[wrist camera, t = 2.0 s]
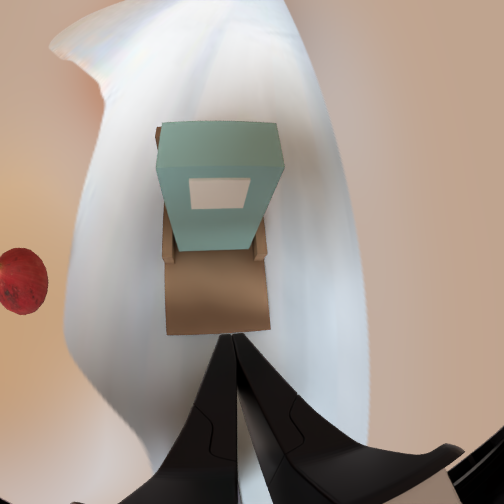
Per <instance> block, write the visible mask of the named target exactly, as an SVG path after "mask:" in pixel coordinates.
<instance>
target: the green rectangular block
mask: <svg viewBox="0 0 504 504" xmlns="http://www.w3.org/2000/svg"><path fill="white" fill-rule="evenodd" d="M284 168H285V166H284V160H283V155H282V150H281V145H280V140H279V135H278V130H277V125H276V123H264V122H244V121H187V122H166V123H162V127H161V133H160V140H159V147H158V154H157V162H156V171H157V175H158V179H159V183H160V187H161V191H162V194H163V198H164V202H165V205H166V209H167V213H168V216H169V220H170V223H171V226H172V230H173V233H174V236H175V240H176V243H177V246H178V249H179V251H206V250H235V249H249V247H250V245H251V243H252V240H253V238H254V236H255V234H256V231H257V229H258V227H259V224H260V222H261V220H262V218H263V215H264V213H265V211H266V209H267V206H268V204H269V202H270V199H271V197H272V195H273V193H274V190H275V188H276V186H277V184H278V181H279V179H280V177H281V175H282V172H283V170H284Z"/></svg>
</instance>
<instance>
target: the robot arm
mask: <svg viewBox="0 0 504 504" xmlns="http://www.w3.org/2000/svg"><path fill="white" fill-rule="evenodd" d="M237 392H238V396H239V400H240V403H241V407H242V410H243V413H244V417H245V420H246V423H247V427H248V430H249V433H250V436H251V440H252V443H253V446H254V449H255V452H256V455H257V458H258V461H259V464H260V467H261V470H262V473H263V476H264V479H265V482H266V485H267V487H268V491H269V493H270V496H271V499H272V502H273V504H504V426H503V427H502V428H501V429H499V430H498V431H497V432H496V433H495V434H494V435H493V436H492V437H490V438H489V439H488V440H487V441H486V442H485V443H483V444H482V445H481V446H480V447H478V448H477V449H476V450H475V451H474V452H472V453H471V454H470V455H468V456H467V457H466V458H464V459H463V460H462V461H461V462H459V463H458V464H457V465H455V466H454V467H453V468H451V469H450V470H449V471H446V469H445V467H446V466H447V465H449V464H450V463H452V462H453V461H454V460H456V459H457V458H458V457H460V456H461V455H462V454H463V453H464V452H465V451H464V450H463V449H461V448H460V447H458V446H455V445H451V444H447V443H445V444H443V445H441V446H439V447H438V448H436V449H435V450H433V451H431V452H429V453H426V454H421V455H413V454H405V453H399V452H393V451H387V450H382V449H377V448H372V447H368V446H365V445H362V444H360V443H358V442H356V441H354V440H353V439H351V438H350V437H348V436H347V435H346V434H344V433H343V432H342V431H340V430H339V429H338V428H336V427H335V426H334V425H332V424H331V423H330V422H328V421H327V420H326V419H324V418H323V417H322V416H321V415H320V414H318V413H317V412H316V411H315V410H314V409H313V408H312V407H311V406H310V405H309V404H307V403H306V402H305V401H304V399H303V398H302V397H301V396H300V395H297V392H296V391H295V390H294V389H293V388H292V387H291V386H290V385H289V384H288V383H287V382H286V380H285V379H284V378H283V377H282V376H281V375H280V374H279V373H278V372H277V371H276V370H275V368H274V367H273V366H272V365H271V364H270V363H269V362H268V361H267V360H266V358H265V357H264V356H263V355H262V354H261V353H260V352H259V350H258V349H257V348H256V347H255V346H254V345H253V344H252V342H251V341H250V340H249V339H248V338H247V337H246V336H245V334H243V333H238V334H233V335H231V334H222V335H220V336H219V339H218V341H217V344H216V346H215V349H214V352H213V354H212V357H211V359H210V362H209V364H208V367H207V370H206V372H205V375H204V377H203V380H202V383H201V385H200V388H199V390H198V393H197V396H196V398H195V401H194V403H193V406H192V408H191V411H190V413H189V416H188V418H187V420H186V423H185V425H184V427H183V429H182V431H181V433H180V434H179V436H178V438H177V440H176V442H175V443H174V445H173V447H172V448H171V450H170V452H169V453H168V455H167V457H166V458H165V460H164V462H163V463H162V465H161V466H160V468H159V469H158V471H157V472H156V473H155V474H154V475H153V477H152V478H150V479H149V480H148V481H147V482H146V483H144V484H143V485H142V486H141V487H139V488H138V489H137V490H136V491H134V492H133V493H132V494H130V495H129V496H128V497H126V498H125V499H124V500H122V501H121V502H120V503H118V504H241V498H240V492H239V485H238V471H237ZM0 504H12V503H10V502H8V501H6V500H4V499H2V498H0ZM71 504H83V503H79V502H72V503H71Z"/></svg>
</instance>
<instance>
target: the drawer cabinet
mask: <svg viewBox="0 0 504 504" xmlns="http://www.w3.org/2000/svg"><path fill="white" fill-rule="evenodd" d="M160 133H161V127H157V129H156V135H155V139H156V144H157V149H158V147H159V140H160ZM266 255H267V245H266V236H265V227H264V218H262V220H261V222H260V224H259V227H258V229H257V231H256V234H255V236H254V238H253V240H252V243H251V245H250V247H249V249H235V250H206V251H179V249H178V246H177V243H176V240H175V236H174V233H173V230H172V226H171V223H170V220H169V216H168V213H167V209H166V205H165V202H164V214H163V239H162V258H163V260H164V262H165V311H166V332H167V335H199V334H220V333H236V332H249V331H261V330H270V329H271V328H270V317H269V307H268V297H267V287H266V277H265V267H264V258H265V256H266Z"/></svg>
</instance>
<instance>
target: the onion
mask: <svg viewBox="0 0 504 504" xmlns="http://www.w3.org/2000/svg"><path fill="white" fill-rule="evenodd" d="M47 288H48V276H47V271H46V268H45V266H44V264H43V262H42V260H41V259H40V258H39V257H38V256H37V255H36V254H35V253H34V252H32V251H31V250H29V249H26V248H13V249H11V250H9V251H7V252H5V253H3V254H2V256H1V257H0V302H1V303H2V305H3V306H4V307H5V308H6V309H8V310H10V311H12V312H15V313H17V314H19V315H26V314H30V313H33V312H35V311H36V310H37V309H38V308H39V307H40V306H41V305H42V303H43V302H44V300H45V297H46V294H47Z"/></svg>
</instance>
